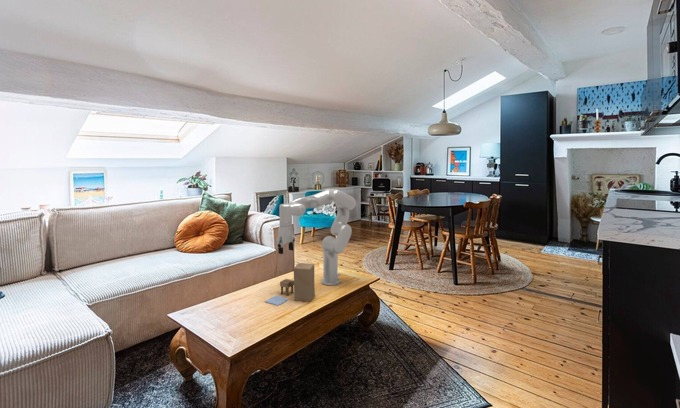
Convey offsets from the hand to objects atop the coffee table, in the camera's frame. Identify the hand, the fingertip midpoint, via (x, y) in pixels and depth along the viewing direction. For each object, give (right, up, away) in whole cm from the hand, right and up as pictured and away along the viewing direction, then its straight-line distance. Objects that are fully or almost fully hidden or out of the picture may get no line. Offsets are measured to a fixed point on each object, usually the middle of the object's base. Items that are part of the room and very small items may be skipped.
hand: (286, 251), depth 211 cm
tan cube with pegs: (0, -26, +4) cm, 27 cm away
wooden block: (+12, -28, -3) cm, 30 cm away
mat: (-4, -28, -7) cm, 29 cm away
